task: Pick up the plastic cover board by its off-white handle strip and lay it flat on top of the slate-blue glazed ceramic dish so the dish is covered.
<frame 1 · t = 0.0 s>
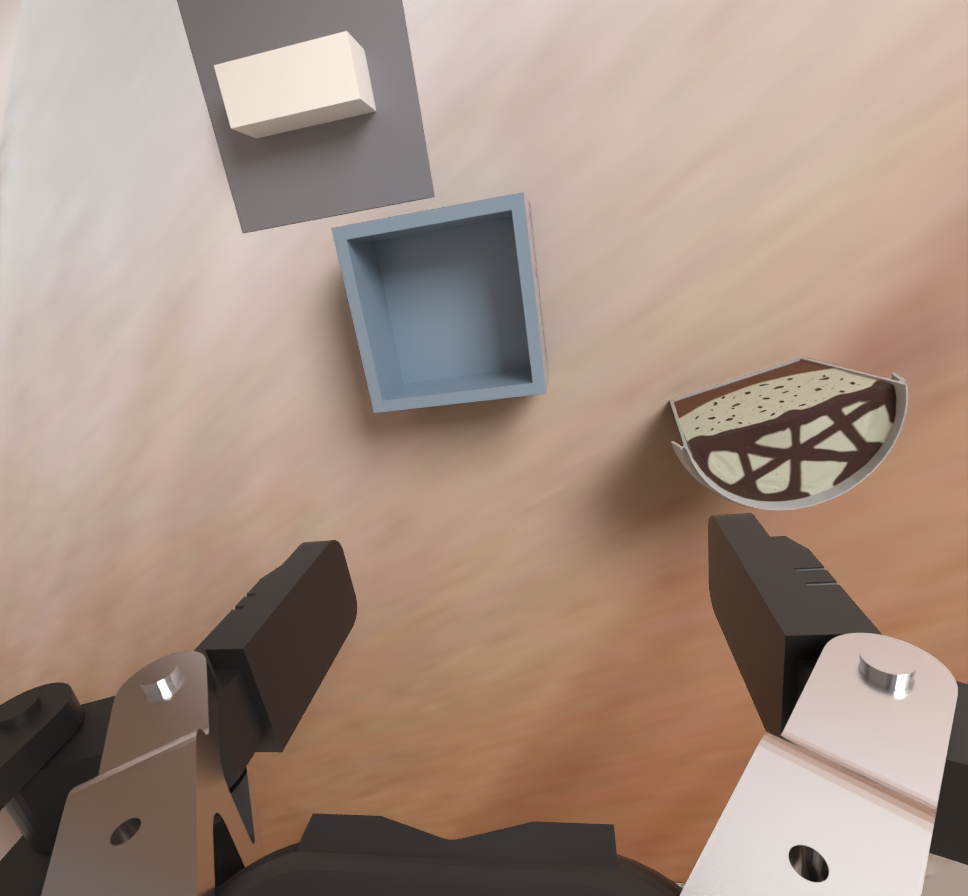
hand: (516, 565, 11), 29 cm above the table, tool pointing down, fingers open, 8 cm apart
dish: (459, 305, 38), on the table
lid: (313, 99, 35), on the table
food container: (742, 416, 38), on the table
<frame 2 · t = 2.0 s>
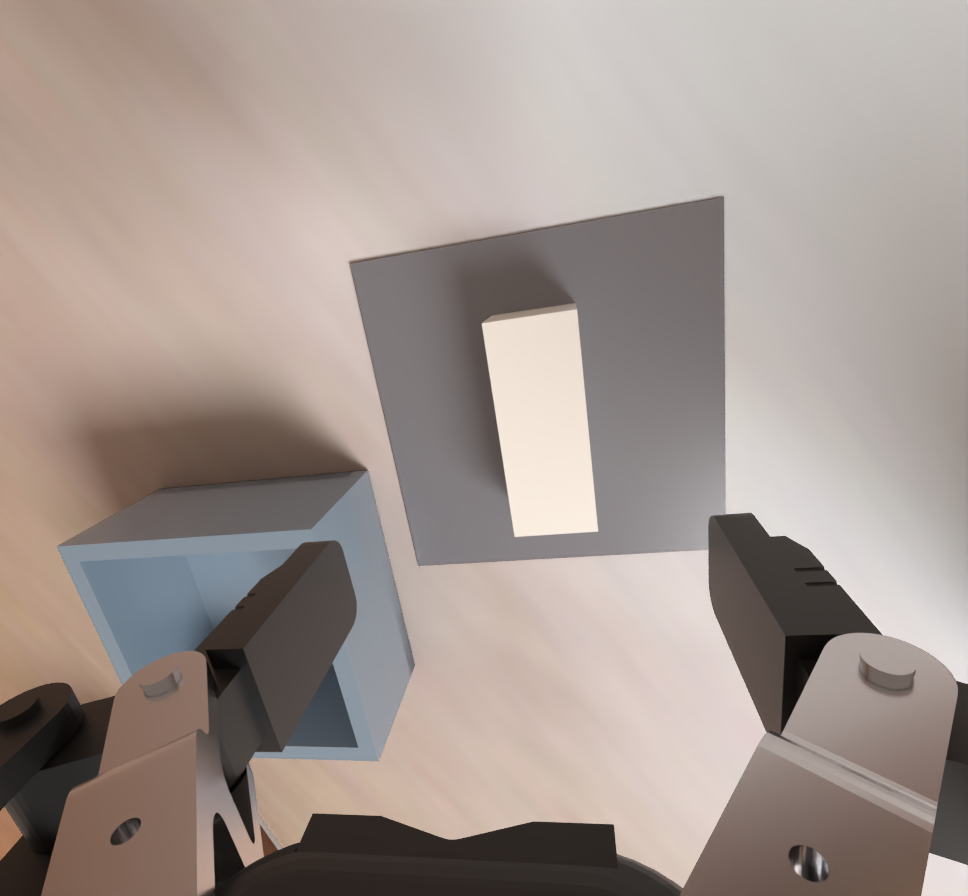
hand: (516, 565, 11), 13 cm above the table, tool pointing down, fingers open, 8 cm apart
dish: (290, 579, 28), on the table
lid: (546, 407, 24), on the table
food container: (229, 820, 37), on the table
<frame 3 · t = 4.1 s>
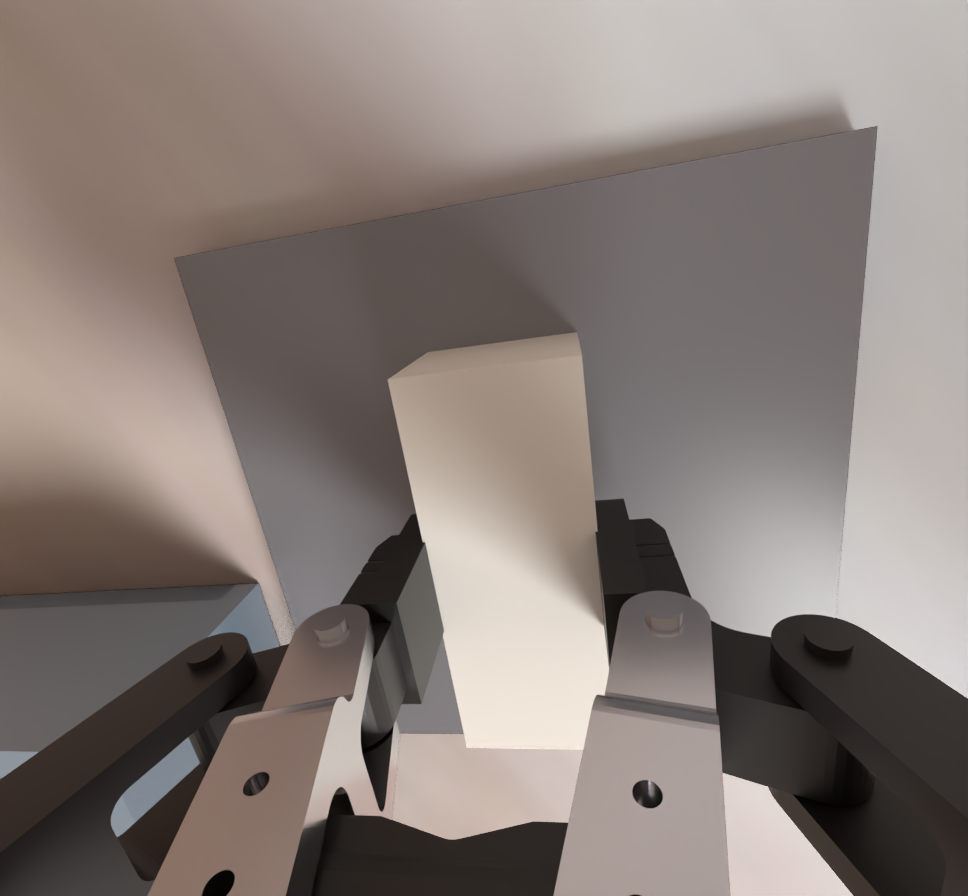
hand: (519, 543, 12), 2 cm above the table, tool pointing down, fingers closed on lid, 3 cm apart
dish: (162, 725, 19), on the table
lid: (526, 502, 14), on the table, touching gripper
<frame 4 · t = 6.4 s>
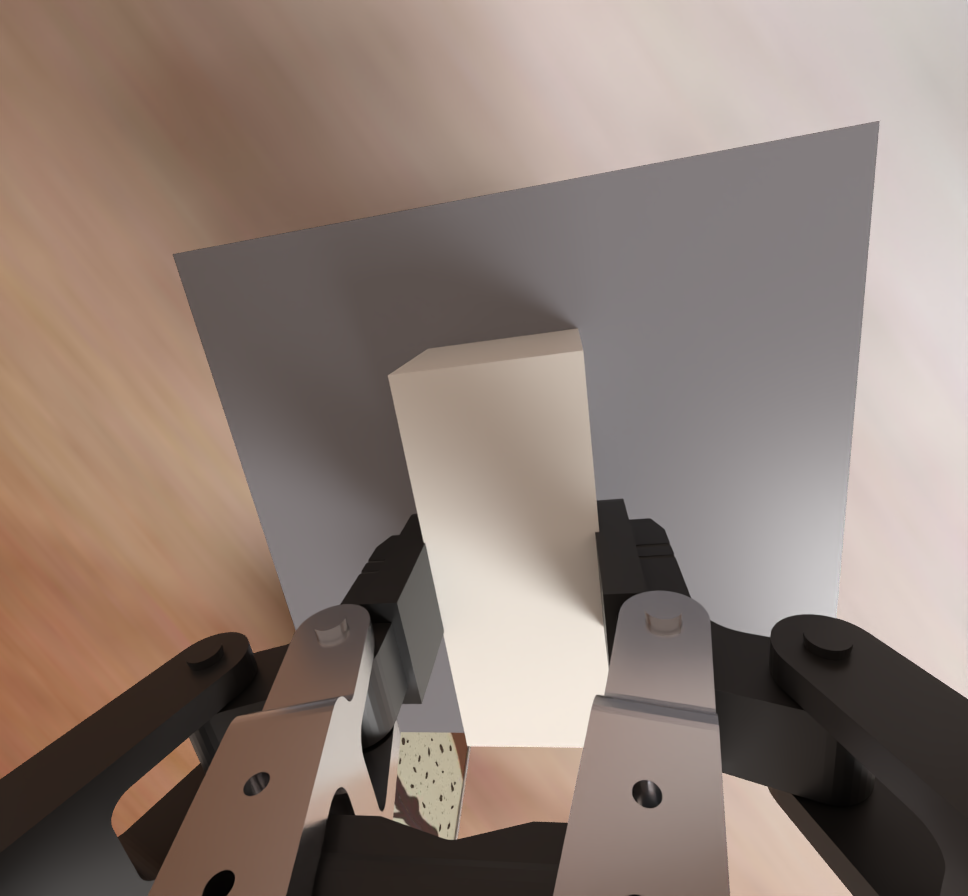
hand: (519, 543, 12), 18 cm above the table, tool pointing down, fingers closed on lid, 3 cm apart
lid: (527, 500, 14), point 16 cm above the table, touching gripper
food container: (412, 687, 38), on the table
when the fingers open (9 cm above the table, at t = 8.8 s): lid drops 1 cm, resting on dish.
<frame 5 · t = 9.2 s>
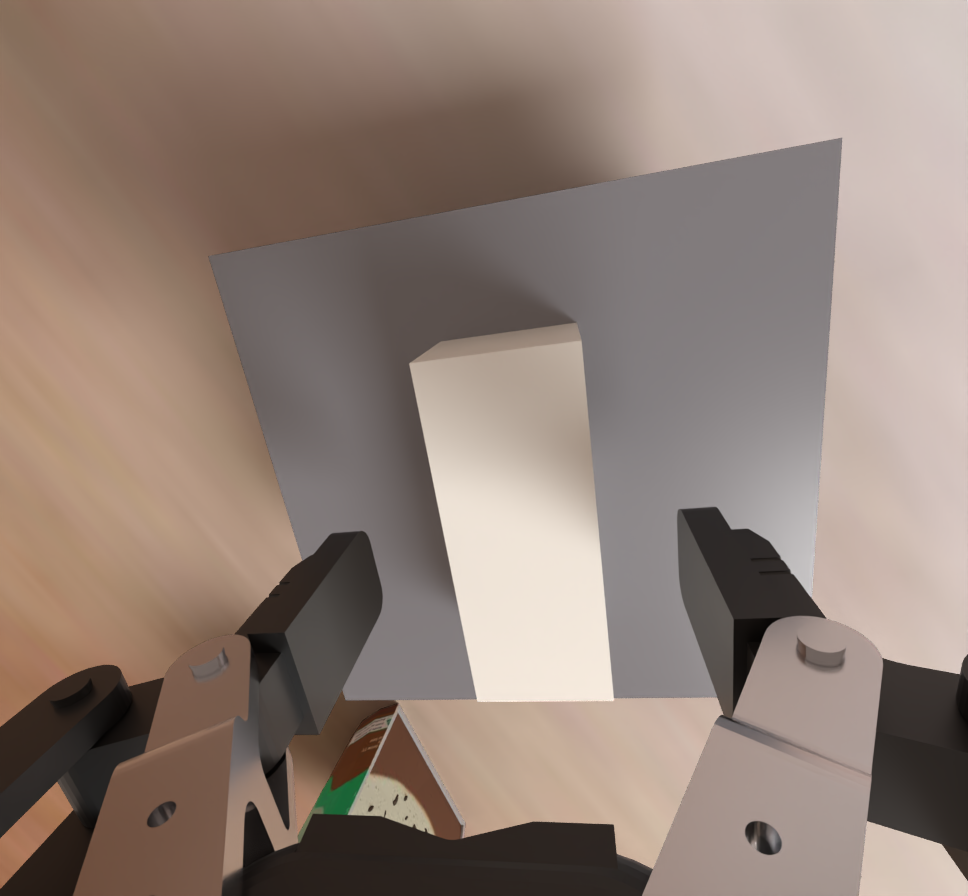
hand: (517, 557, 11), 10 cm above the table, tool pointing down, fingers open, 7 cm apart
lid: (530, 481, 15), point 6 cm above the table, touching dish
food container: (386, 771, 29), on the table
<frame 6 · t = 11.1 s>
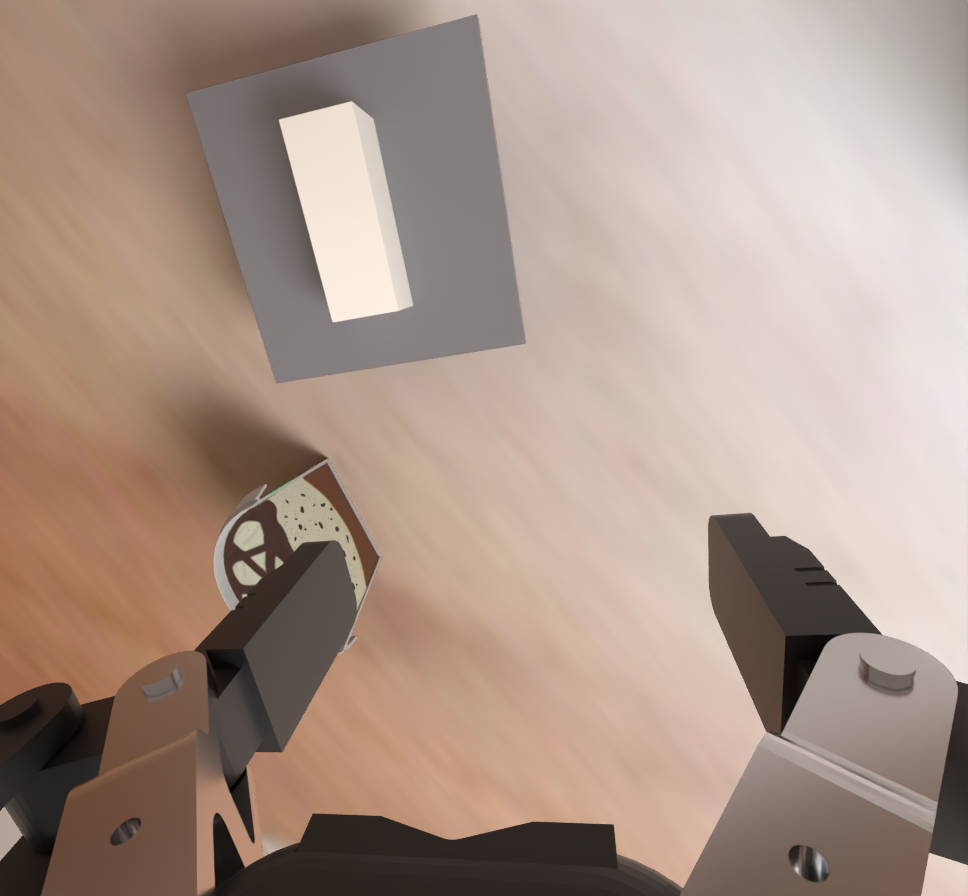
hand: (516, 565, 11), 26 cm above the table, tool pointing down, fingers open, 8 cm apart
lid: (367, 224, 28), point 6 cm above the table, touching dish
food container: (324, 519, 42), on the table
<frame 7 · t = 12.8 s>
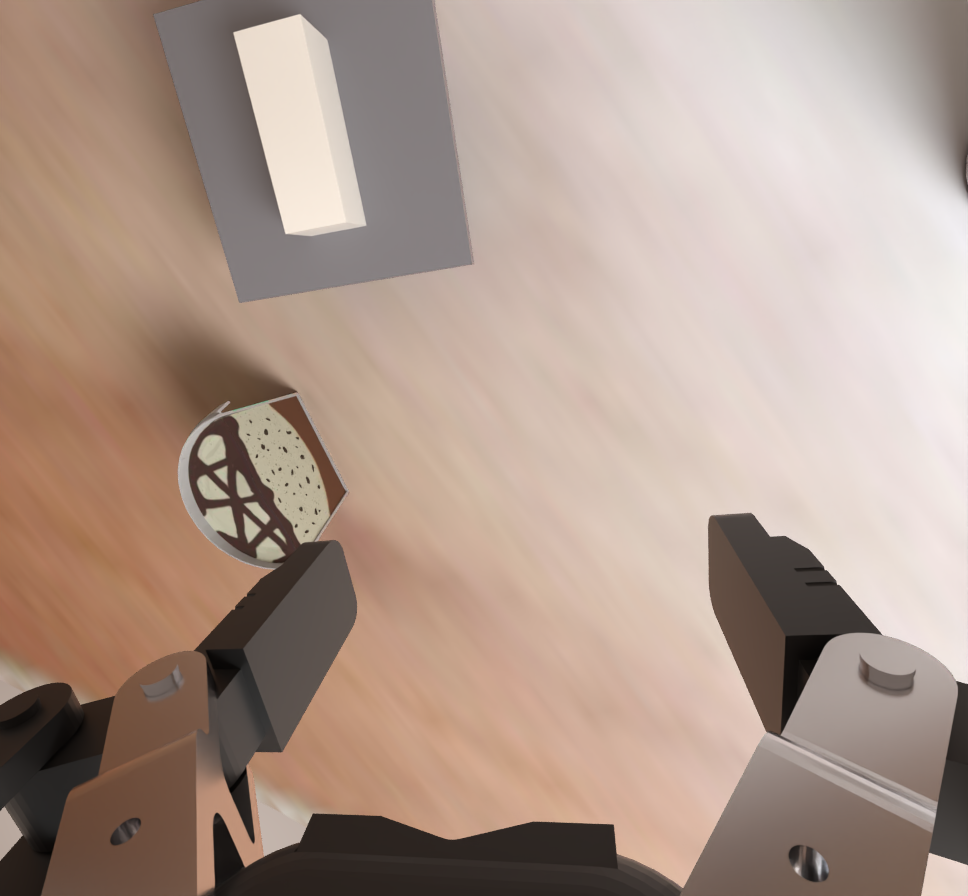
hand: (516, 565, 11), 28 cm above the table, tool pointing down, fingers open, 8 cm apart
lid: (324, 147, 29), point 6 cm above the table, touching dish
food container: (294, 454, 43), on the table
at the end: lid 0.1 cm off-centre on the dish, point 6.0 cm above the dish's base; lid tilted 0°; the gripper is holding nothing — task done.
